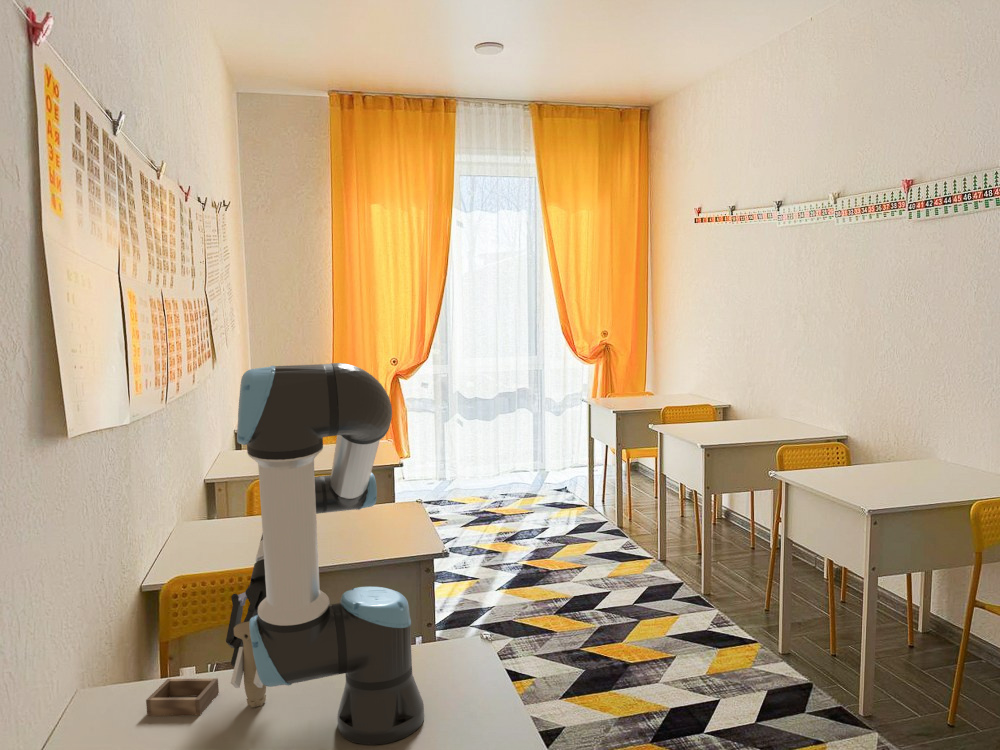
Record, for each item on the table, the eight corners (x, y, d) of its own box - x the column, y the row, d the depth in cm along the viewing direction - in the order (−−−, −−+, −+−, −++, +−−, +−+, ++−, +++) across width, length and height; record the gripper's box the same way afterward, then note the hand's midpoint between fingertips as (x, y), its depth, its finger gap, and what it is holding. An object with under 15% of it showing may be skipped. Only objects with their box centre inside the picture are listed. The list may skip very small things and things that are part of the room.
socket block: (218, 693, 141) (217, 678, 141) (200, 715, 134) (199, 699, 133) (168, 693, 142) (167, 678, 142) (147, 715, 134) (146, 700, 134)
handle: (267, 711, 134) (262, 632, 133) (234, 710, 135) (229, 631, 134) (278, 697, 139) (273, 621, 138) (246, 696, 140) (241, 620, 139)
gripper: (318, 572, 150) (296, 691, 135) (239, 574, 151) (209, 692, 136) (309, 556, 145) (285, 678, 129) (227, 557, 146) (194, 678, 130)
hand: (246, 685), depth 133 cm, fingers closed on handle, 3 cm apart
